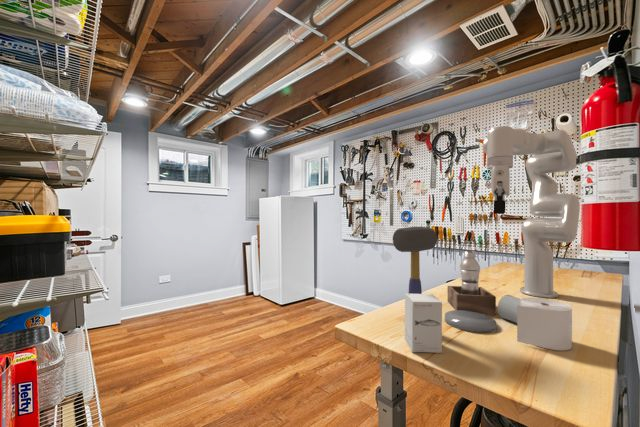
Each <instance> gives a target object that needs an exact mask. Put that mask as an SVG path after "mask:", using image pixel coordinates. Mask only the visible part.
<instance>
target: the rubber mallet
mask: <svg viewBox="0 0 640 427" xmlns="http://www.w3.org/2000/svg"><path fill="white" fill-rule="evenodd" d="M437 242H438V236H437V233H436V231H435V230H434V229H433V228H432V227H428V226H408V227H402V228H401V227H400V228H398V229H396V230H395V231H394V232H393V236H392V243H393V246H394V248H395V249H396V250H397V251H398V252H402V253H410V278H409V281H408V294H423V293H422V290H423V289H422V281H421V278H420V277H421V276H420V269H421V268H420V252H423V251H428V250H432V249H433V248H435V246H436V245H437Z"/></svg>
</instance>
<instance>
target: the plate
mask: <svg viewBox="0 0 640 427" xmlns="http://www.w3.org/2000/svg"><path fill="white" fill-rule="evenodd" d="M444 321H445V323H446V324H448V325H449V326H451V327H452V328H455V329H458V330H461V331H465V332H469V333H477V334H478V333H479V334H485V333H486V334H490V333H493V332H495V331H497V328H498V327H497V321H496V320H495V319H494V318H493V317H491V316H489V315H488V314H481V313H477V312H472V311H465V310H455V309H454V310H449V311H445V314H444Z"/></svg>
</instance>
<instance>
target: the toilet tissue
mask: <svg viewBox="0 0 640 427" xmlns="http://www.w3.org/2000/svg"><path fill="white" fill-rule="evenodd" d="M520 299H521V300H520V306H519V305H517V323H516V327H517V328H516V330H517V331H516V334H517V335H516V337H517V339H516V342H518V343H523V344H526V345H531V346H536V347H538V348H543V349H547V350H551V351H552V350H553V351H569V350H571V349H572V348H573V308H572V306H571V305H569V304H567V303H565V302H560V301H558V300H552V299H549V298H543V297H522V298H520Z"/></svg>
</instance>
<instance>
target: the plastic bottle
mask: <svg viewBox="0 0 640 427" xmlns="http://www.w3.org/2000/svg"><path fill="white" fill-rule="evenodd" d="M463 254H464V255H463V257H464V258H463V260H462V261H461V262H460V265H459V268H460V269H459V270H460V276H461V286H462V289H461V294H466V295H479V289H478V287H479V280H480V279H479V278H480V270H481V266H480V264H479V262H478V261H477V259H476V257H477V256H476V255H477V252H476V251H471V250H470V251H468V250H465V251H464V252H463Z"/></svg>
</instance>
